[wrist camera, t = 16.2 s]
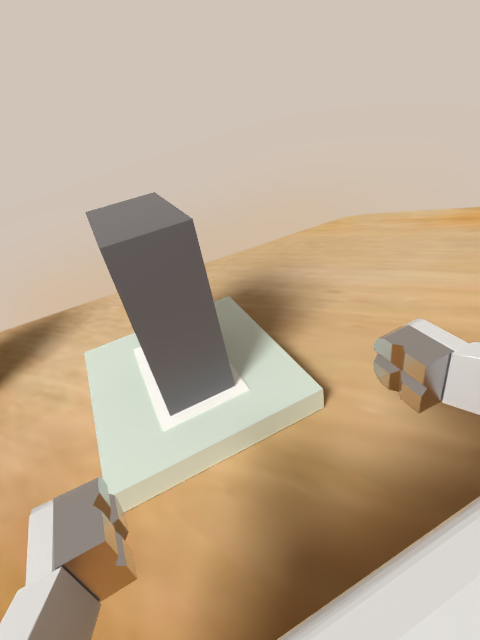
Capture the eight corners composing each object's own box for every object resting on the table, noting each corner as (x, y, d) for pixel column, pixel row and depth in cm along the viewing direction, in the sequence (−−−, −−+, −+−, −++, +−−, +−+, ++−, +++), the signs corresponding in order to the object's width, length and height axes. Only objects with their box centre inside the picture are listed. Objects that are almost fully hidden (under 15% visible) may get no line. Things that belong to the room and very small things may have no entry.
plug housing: (196, 329, 26) (154, 192, 21) (235, 385, 21) (192, 218, 15) (144, 351, 25) (85, 212, 20) (170, 416, 20) (99, 248, 14)
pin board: (232, 310, 31) (223, 272, 29) (324, 407, 20) (320, 358, 18) (92, 367, 28) (71, 328, 25) (117, 515, 17) (86, 471, 15)
